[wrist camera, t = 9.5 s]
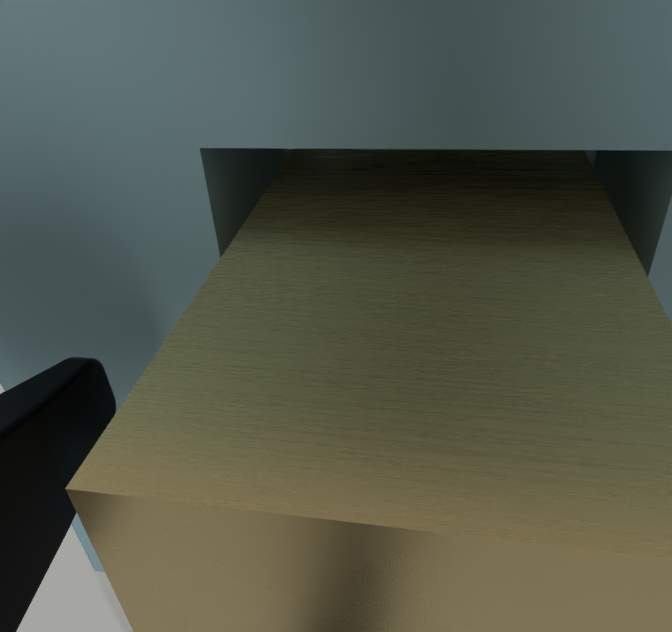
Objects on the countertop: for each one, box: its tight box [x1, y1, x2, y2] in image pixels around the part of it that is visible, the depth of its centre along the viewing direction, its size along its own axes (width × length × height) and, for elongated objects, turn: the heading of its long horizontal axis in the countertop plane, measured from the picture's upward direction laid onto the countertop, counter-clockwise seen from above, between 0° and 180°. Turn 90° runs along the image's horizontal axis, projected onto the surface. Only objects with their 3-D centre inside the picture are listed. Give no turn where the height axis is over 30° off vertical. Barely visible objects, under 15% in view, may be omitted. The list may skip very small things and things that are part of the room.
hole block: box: [0, 0, 672, 572], centre depth 11 cm, size 16×16×5 cm
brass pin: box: [65, 149, 672, 632], centre depth 9 cm, size 5×5×9 cm
